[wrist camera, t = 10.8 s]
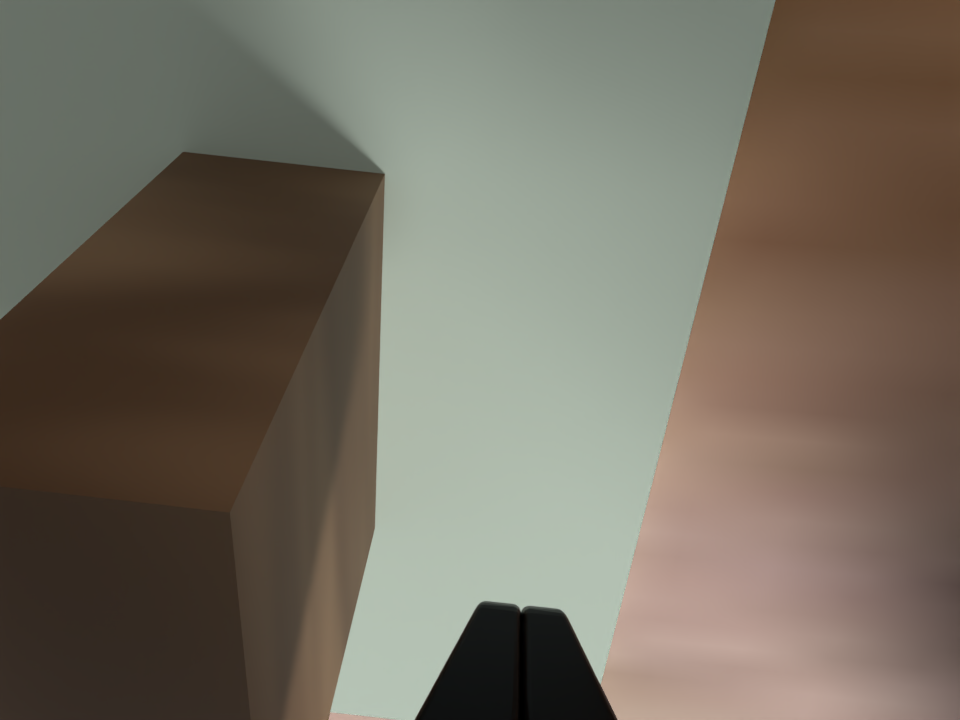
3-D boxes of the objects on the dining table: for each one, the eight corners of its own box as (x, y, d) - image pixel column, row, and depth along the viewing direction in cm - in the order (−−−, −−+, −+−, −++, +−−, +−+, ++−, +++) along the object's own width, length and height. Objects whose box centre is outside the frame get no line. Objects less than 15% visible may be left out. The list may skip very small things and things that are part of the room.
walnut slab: (384, 174, 10) (230, 512, 5) (375, 528, 14) (272, 945, 9) (183, 151, 10) (-163, 469, 5) (221, 510, 14) (30, 916, 9)
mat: (840, -298, 8) (853, -304, 8) (585, 722, 17) (586, 740, 16) (-614, -437, 8) (-666, -448, 8) (-112, 644, 17) (-126, 661, 16)
